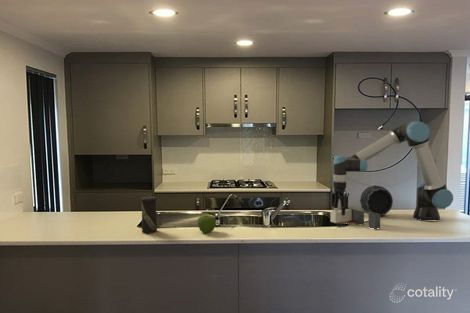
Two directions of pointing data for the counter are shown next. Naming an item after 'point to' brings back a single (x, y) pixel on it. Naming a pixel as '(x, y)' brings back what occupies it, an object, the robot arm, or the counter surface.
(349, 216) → the plug
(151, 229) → the container
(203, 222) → the apple
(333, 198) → the robot arm
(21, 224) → the counter surface
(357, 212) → the housing
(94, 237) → the counter surface
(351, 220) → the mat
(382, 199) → the dark grey thick wheel
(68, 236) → the counter surface
